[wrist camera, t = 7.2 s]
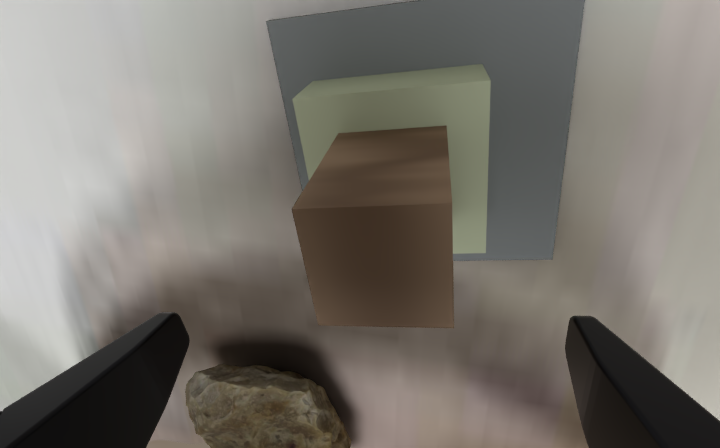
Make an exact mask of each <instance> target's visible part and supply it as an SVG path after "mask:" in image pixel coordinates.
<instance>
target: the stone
mask: <svg viewBox="0 0 720 448" xmlns="http://www.w3.org/2000/svg"><path fill="white" fill-rule="evenodd" d="M185 393H186V406H187V407H188V410H189V416H190V418H191V420H192V422H193V424H194V427H195V431H196V434H198V435H200V436H201V437H203V439H204V440H205V442H206V443H207V444H208V445H209V446H210V447H211V448H350V444H351V439H350V438H349V436H348V434H347V432H346V430H345V427H344V424H343V422H342V421H340V419H339V417H338V415H337V413H336V411H335V408H334V407H333V406H332V404H331V403H330V401H329V399H328V397H327V394H326V392H325V389H324V387H321V386H319V385H316V384H315V383H314V382H313V381H312V380H310V379H305V378H303V377H302V376H301V375H300V374H299V373H295V372H291V371H284V372H280V371H278V370H276V369H273V368H270V367H267V366H261V365H252V366H248V367H238V366H232V365H227V364H220V365H217V366H216V367H212V368H209V369H206V370H202V371H198V372H196V373H195V374H194V375H193V377H192V378H191V379H190V380H189V381H188V383H187V385H186V391H185Z"/></svg>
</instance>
